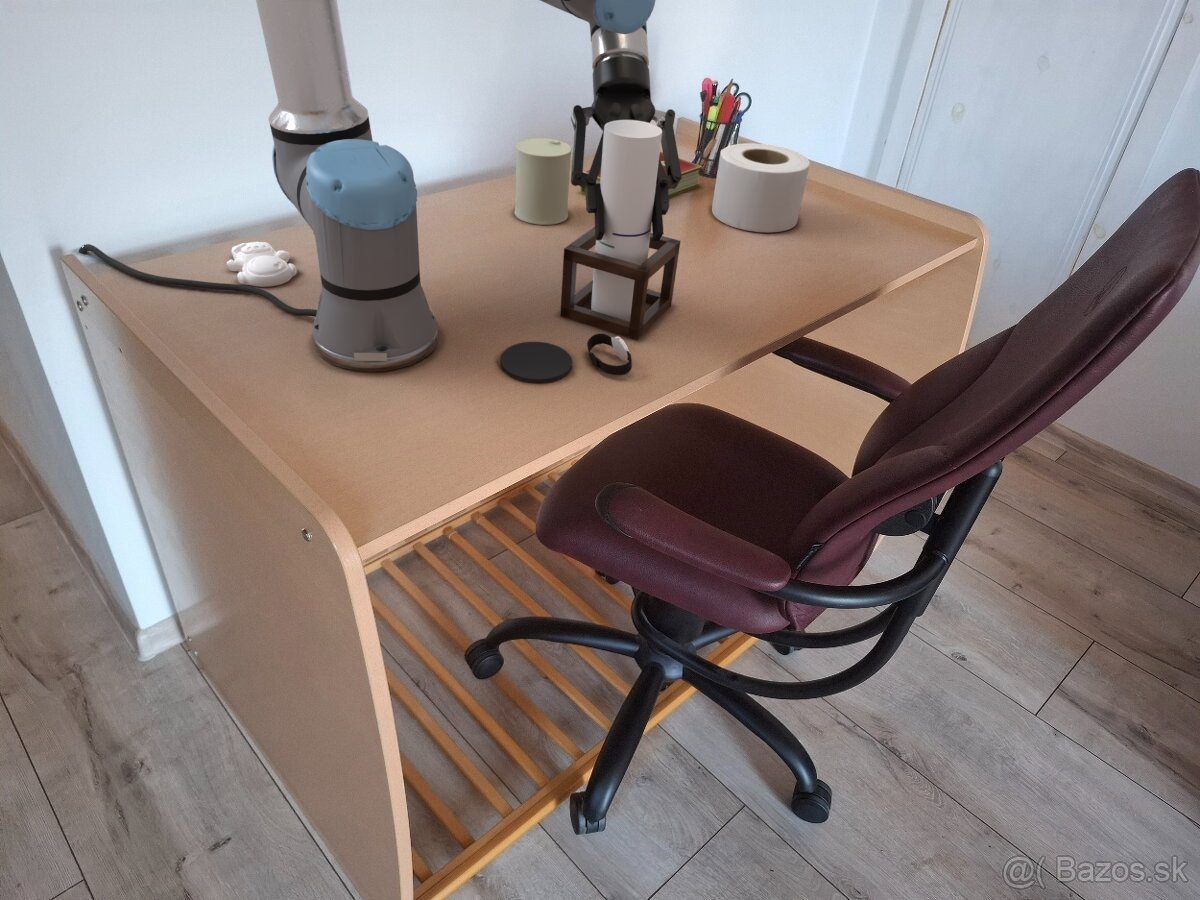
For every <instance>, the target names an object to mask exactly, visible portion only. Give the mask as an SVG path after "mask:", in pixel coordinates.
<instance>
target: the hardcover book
mask: <svg viewBox="0 0 1200 900" xmlns="http://www.w3.org/2000/svg"><path fill="white" fill-rule="evenodd" d="M659 159H660V161H661V163H662V166H663V168H664V170H665V173H666V168H665V162H664V156H663V151H660V155H659ZM679 163H680V168H681V174H682V178H681V180H680V182H679V184H678V186H677V187H676V188H675V189H672V188H671V189H669V190H668V194H669V199H671V198H674V197H676V196H679V195H682V194H684V193H687V192H690V191H693V190H694V189H695V190H696V189H697V188H700V187H701V186H700V185H701V184H698V181H699V174H700V170H703V167H704V166H702V165H700V164H697V163H694V162H691V161H688V160H685V159H683V158H680V157H679ZM589 171H590V169H588V170H585V171H584V170H583V173H586V174H589ZM666 175H667V173H666ZM600 178H601V168H600V171H599V174H598V177H597V180H596V184H597V183H600ZM579 187H580V193H581V194H582V195H585V196H586V193H585V191H584V188H583V187H581V186H579Z"/></svg>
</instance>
